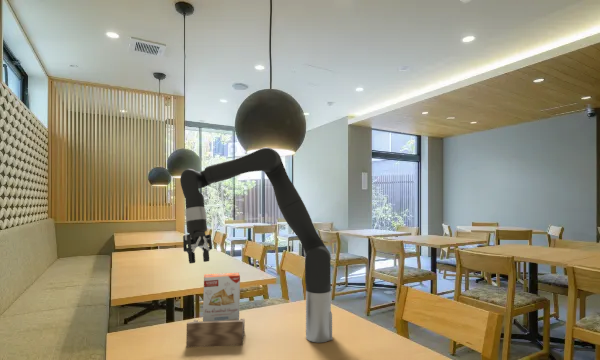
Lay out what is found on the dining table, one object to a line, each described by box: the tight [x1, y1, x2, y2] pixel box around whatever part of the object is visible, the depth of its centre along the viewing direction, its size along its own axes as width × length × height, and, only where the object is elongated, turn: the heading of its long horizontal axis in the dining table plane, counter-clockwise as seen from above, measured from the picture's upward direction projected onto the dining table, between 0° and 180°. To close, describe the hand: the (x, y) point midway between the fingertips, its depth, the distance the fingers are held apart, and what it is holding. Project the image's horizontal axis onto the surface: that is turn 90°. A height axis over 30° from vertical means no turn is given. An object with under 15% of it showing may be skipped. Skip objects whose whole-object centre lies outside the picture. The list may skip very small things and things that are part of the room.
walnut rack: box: [185, 318, 246, 348], centre depth 122 cm, size 19×12×8 cm, turn 95°
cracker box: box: [202, 272, 241, 321], centre depth 133 cm, size 14×6×21 cm, turn 105°
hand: (199, 262), depth 126 cm, fingers open, 8 cm apart
